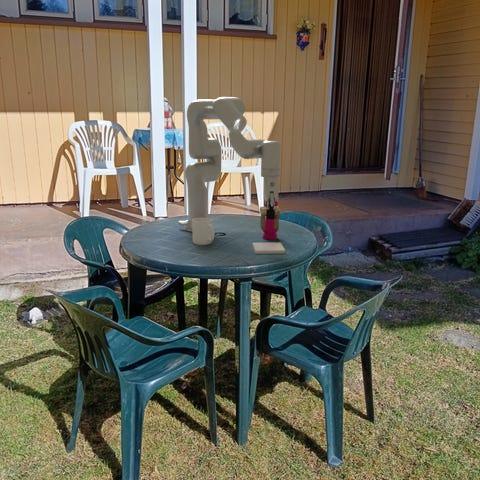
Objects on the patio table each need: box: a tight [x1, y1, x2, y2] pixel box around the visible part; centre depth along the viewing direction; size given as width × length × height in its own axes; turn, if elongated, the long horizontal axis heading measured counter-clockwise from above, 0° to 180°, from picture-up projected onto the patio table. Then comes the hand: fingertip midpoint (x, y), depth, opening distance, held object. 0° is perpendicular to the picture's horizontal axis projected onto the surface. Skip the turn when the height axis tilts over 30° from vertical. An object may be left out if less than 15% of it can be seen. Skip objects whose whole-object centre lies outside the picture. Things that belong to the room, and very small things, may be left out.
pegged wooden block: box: [259, 206, 281, 231], centre depth 199 cm, size 5×8×8 cm, turn 94°
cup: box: [192, 217, 216, 246], centre depth 209 cm, size 8×12×10 cm
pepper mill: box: [262, 200, 279, 241], centre depth 218 cm, size 7×7×20 cm
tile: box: [252, 242, 286, 255], centre depth 203 cm, size 12×12×1 cm
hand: (269, 217), depth 199 cm, fingers closed on pegged wooden block, 5 cm apart
